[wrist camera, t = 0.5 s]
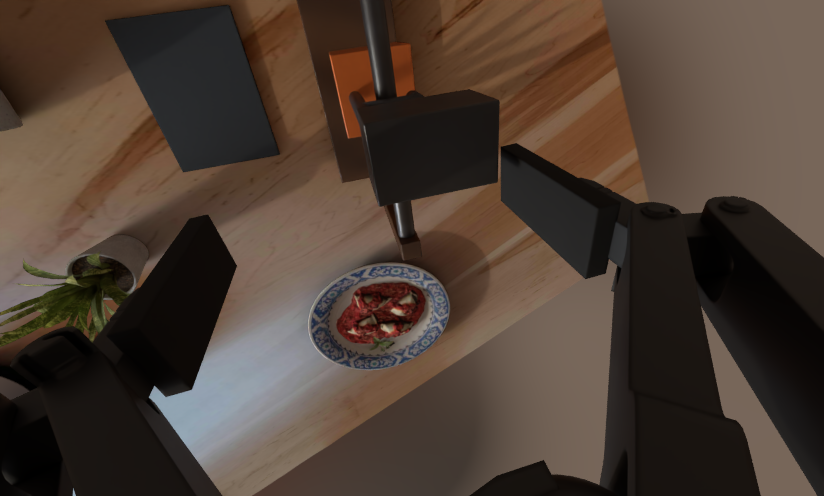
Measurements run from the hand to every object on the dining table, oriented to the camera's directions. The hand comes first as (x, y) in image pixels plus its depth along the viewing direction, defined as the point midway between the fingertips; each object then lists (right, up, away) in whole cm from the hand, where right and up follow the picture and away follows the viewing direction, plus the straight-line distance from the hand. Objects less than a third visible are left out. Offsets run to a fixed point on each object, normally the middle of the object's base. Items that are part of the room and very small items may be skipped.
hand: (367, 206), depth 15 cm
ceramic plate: (-4, -14, +48) cm, 50 cm away
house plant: (-38, -3, +32) cm, 50 cm away
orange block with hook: (-2, +13, +16) cm, 21 cm away
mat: (-22, +16, +24) cm, 36 cm away
